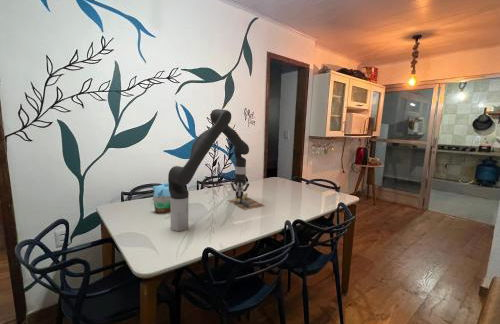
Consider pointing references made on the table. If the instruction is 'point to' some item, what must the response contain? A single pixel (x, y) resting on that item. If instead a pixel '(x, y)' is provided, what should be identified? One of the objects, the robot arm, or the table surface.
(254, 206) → the mounting board
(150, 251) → the table surface
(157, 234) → the table surface
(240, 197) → the hinge pin
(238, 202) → the hinge
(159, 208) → the food container
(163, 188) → the light blue lumpy mass
